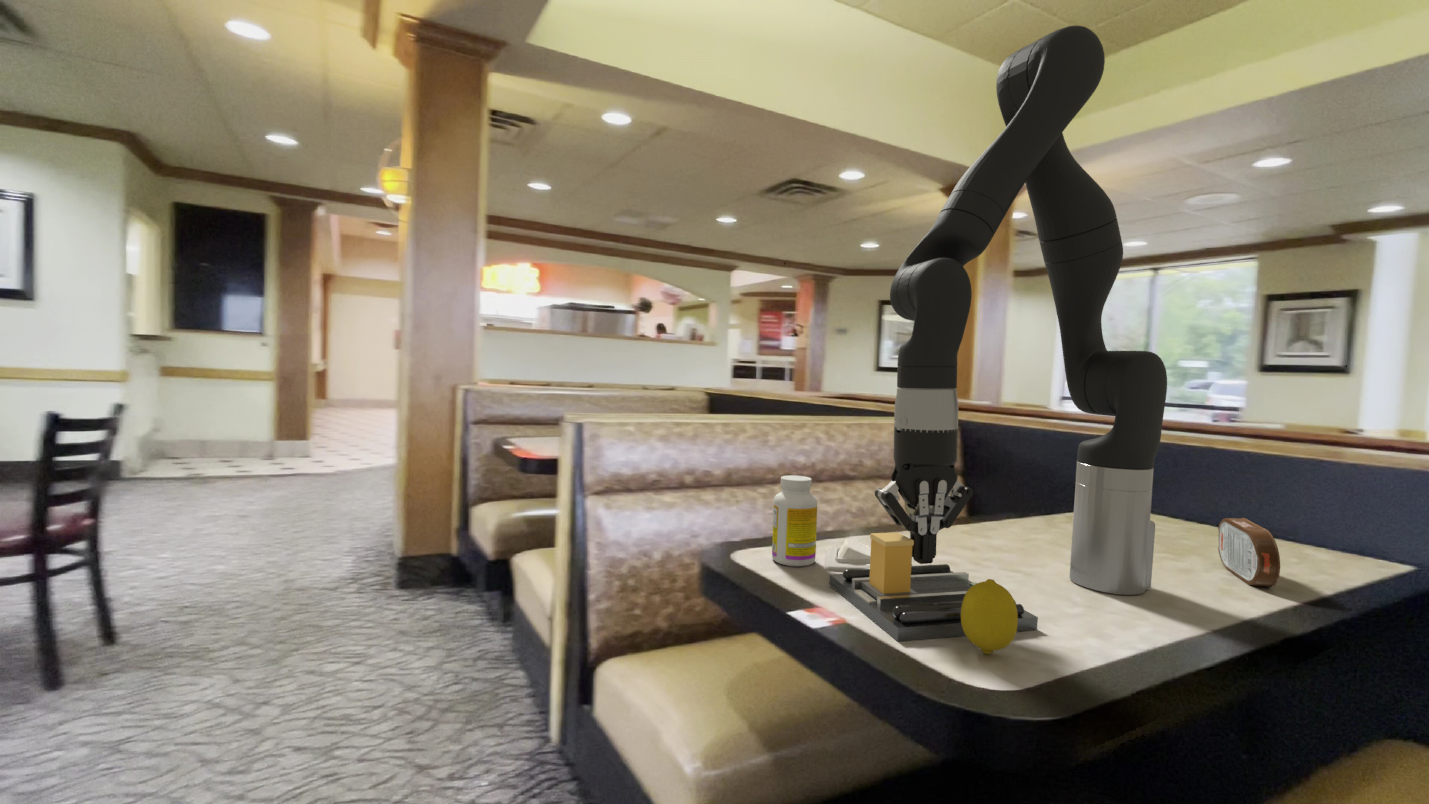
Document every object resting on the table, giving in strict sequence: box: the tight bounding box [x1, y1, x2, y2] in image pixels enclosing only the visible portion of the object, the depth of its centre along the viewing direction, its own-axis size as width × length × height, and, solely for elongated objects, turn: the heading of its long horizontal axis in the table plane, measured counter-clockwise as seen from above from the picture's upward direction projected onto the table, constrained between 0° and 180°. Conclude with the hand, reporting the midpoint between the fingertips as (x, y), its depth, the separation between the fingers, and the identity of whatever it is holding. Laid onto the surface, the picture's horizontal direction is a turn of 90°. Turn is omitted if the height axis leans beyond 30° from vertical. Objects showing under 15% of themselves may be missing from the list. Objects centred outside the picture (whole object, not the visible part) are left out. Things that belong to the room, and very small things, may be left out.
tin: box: [1217, 517, 1281, 588], centre depth 96 cm, size 15×3×8 cm, turn 160°
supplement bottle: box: [771, 474, 818, 567], centre depth 97 cm, size 7×7×13 cm
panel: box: [828, 563, 1039, 642], centre depth 80 cm, size 18×18×3 cm
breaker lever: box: [862, 531, 918, 599], centre depth 79 cm, size 5×5×7 cm
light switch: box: [823, 538, 871, 573], centre depth 98 cm, size 11×4×13 cm
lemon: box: [961, 578, 1018, 655], centre depth 67 cm, size 6×6×8 cm
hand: (922, 561), depth 80 cm, fingers closed
